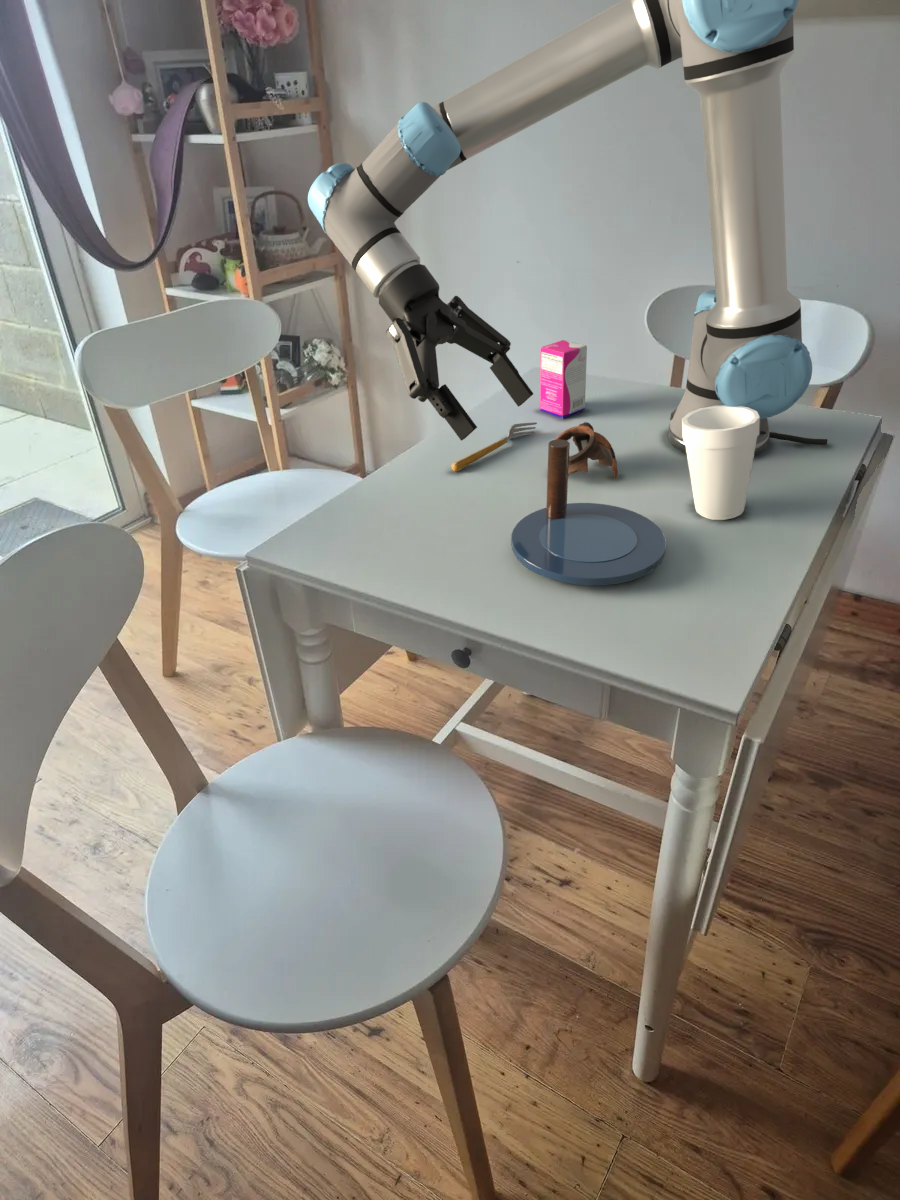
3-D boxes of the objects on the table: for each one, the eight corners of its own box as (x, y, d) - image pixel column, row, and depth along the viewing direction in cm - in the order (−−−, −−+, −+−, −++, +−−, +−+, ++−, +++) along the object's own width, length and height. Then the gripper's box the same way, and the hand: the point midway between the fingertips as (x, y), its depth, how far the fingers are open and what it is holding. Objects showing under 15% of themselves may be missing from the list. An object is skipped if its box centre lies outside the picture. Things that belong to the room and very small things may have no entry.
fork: (459, 464, 122) (537, 421, 134) (450, 459, 123) (528, 416, 135) (457, 478, 124) (534, 434, 136) (448, 473, 124) (525, 429, 136)
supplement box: (561, 402, 147) (563, 338, 140) (585, 411, 143) (589, 345, 136) (538, 410, 144) (539, 345, 137) (562, 419, 140) (565, 353, 133)
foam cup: (669, 515, 112) (667, 424, 105) (707, 490, 116) (707, 402, 110) (732, 531, 105) (734, 435, 98) (770, 503, 110) (773, 410, 103)
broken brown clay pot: (625, 490, 118) (603, 449, 112) (565, 512, 122) (541, 474, 116) (619, 438, 126) (598, 398, 120) (562, 460, 129) (540, 423, 124)
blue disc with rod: (698, 557, 98) (711, 474, 92) (567, 602, 91) (572, 515, 85) (603, 497, 112) (609, 421, 106) (483, 532, 105) (482, 453, 99)
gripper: (440, 281, 115) (529, 402, 116) (319, 323, 98) (425, 465, 99) (471, 243, 109) (564, 372, 110) (348, 282, 93) (460, 433, 93)
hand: (499, 416), depth 105 cm, fingers open, 13 cm apart
